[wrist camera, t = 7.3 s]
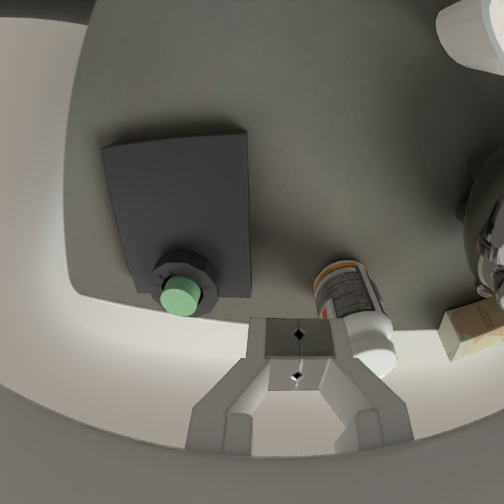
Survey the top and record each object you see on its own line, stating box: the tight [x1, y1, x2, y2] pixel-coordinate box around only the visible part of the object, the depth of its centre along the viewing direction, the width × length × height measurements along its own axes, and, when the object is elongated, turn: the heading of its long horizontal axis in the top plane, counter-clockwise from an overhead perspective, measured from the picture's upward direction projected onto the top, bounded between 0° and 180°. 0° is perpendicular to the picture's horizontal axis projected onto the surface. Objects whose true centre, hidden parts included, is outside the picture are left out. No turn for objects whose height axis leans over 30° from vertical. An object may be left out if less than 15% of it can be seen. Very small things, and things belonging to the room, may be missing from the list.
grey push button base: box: [102, 131, 252, 317], centre depth 22 cm, size 15×11×4 cm
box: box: [438, 296, 504, 362], centre depth 25 cm, size 5×4×11 cm
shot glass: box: [436, 0, 504, 76], centre depth 9 cm, size 7×7×7 cm
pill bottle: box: [314, 260, 397, 379], centre depth 22 cm, size 6×6×10 cm
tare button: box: [160, 275, 201, 316], centre depth 22 cm, size 3×3×2 cm
